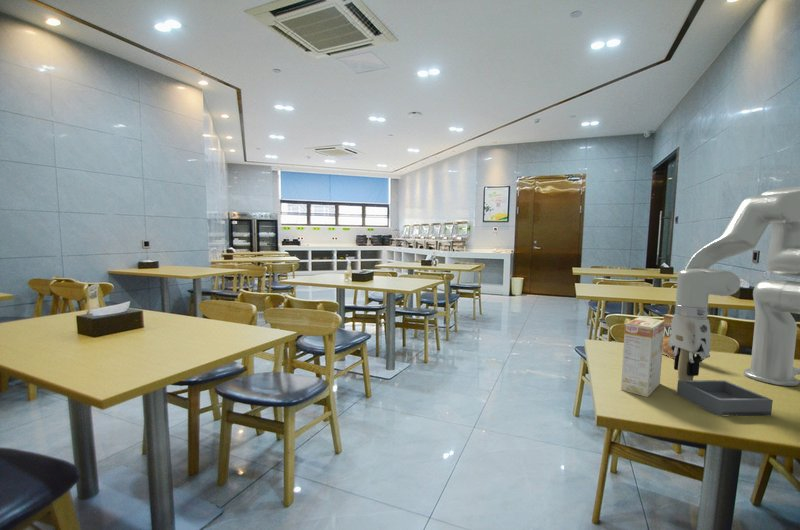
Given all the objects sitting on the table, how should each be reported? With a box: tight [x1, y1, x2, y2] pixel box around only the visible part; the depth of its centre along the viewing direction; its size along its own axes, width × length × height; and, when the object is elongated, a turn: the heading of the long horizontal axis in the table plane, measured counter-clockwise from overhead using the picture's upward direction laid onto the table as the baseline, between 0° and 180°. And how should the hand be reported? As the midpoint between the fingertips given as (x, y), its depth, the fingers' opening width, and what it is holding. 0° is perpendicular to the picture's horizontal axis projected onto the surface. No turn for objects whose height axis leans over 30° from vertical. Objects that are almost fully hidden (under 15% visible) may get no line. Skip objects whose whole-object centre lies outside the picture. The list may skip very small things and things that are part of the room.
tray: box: [676, 379, 774, 417], centre depth 101 cm, size 14×13×4 cm
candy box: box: [662, 314, 681, 360], centre depth 142 cm, size 9×4×15 cm, turn 6°
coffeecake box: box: [620, 316, 664, 398], centre depth 111 cm, size 15×7×20 cm, turn 134°
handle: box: [675, 334, 696, 380], centre depth 113 cm, size 5×6×15 cm
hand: (685, 371), depth 114 cm, fingers closed on handle, 4 cm apart
